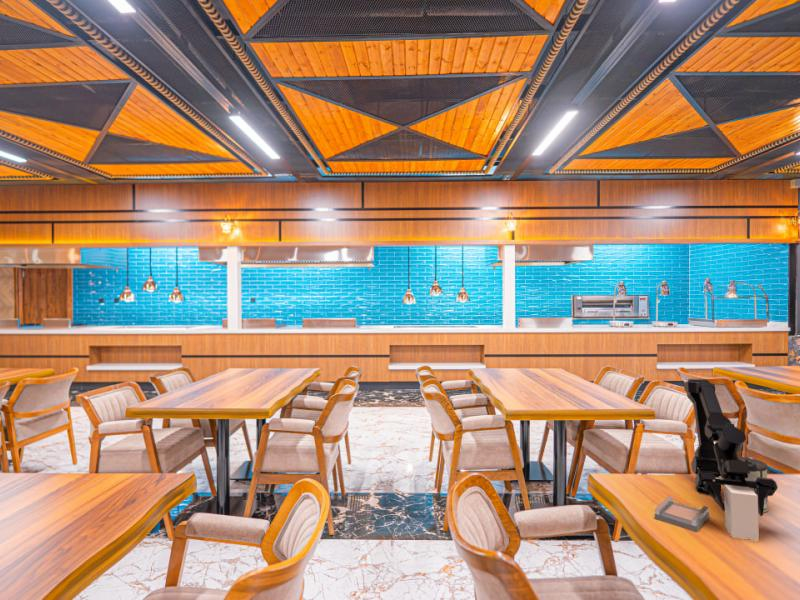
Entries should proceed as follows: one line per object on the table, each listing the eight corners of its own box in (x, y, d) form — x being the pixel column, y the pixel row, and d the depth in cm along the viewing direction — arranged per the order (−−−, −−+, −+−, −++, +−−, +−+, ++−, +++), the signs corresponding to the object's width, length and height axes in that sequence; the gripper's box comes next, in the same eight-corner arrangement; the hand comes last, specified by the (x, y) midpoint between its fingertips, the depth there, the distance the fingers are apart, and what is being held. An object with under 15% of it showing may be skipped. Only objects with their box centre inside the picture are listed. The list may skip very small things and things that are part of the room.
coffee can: (724, 496, 149) (723, 454, 149) (762, 502, 145) (761, 458, 145) (732, 509, 140) (731, 464, 140) (773, 515, 135) (772, 469, 136)
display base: (697, 531, 126) (696, 521, 126) (654, 518, 134) (654, 508, 134) (709, 517, 135) (708, 507, 135) (668, 505, 143) (668, 496, 143)
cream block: (725, 527, 128) (724, 484, 128) (750, 531, 126) (749, 487, 126) (732, 537, 123) (731, 492, 123) (758, 541, 120) (757, 495, 121)
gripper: (697, 444, 132) (708, 496, 121) (774, 450, 125) (793, 506, 115) (690, 461, 139) (701, 512, 128) (763, 469, 132) (780, 522, 122)
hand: (742, 513), depth 123 cm, fingers open, 8 cm apart
